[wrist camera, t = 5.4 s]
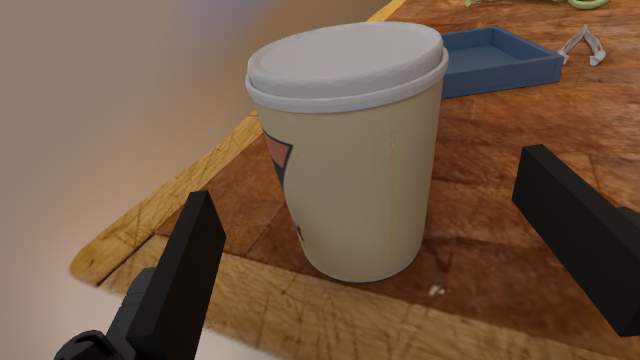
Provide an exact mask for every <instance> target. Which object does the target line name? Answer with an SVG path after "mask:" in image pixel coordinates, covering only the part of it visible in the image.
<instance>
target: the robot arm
mask: <svg viewBox="0 0 640 360" xmlns="http://www.w3.org/2000/svg"><path fill="white" fill-rule="evenodd" d="M512 201H513V202H514V204H515V205H516V206H517V208H518V209H519V210H520V211H521V213H522V214H523V215H524V216H525V218H526V219H527V220H528V221H529V223H530V224H531V225H532V226H533V228H534V229H535V230H536V232H537V233H538V234H539V235H540V237H541V238H542V239H543V240H544V242H545V243H546V244H547V245H548V247H549V248H550V249H551V250H552V252H553V253H554V254H555V256H556V257H557V258H558V259H559V261H560V262H561V263H562V264H563V266H564V267H565V268H566V269H567V271H568V272H569V273H570V274H571V276H572V277H573V278H574V280H575V281H576V282H577V283H578V285H579V286H580V287H581V288H582V290H583V291H584V292H585V293H586V295H587V296H588V297H589V299H590V300H591V301H592V302H593V304H594V305H595V306H596V307H597V309H598V310H599V311H600V312H601V314H602V315H603V316H604V317H605V319H606V320H607V321H608V323H609V324H610V325H611V326H612V328H613V329H614V330H615V331H616V333H617V334H618V335H619V336H620V338H621V337H630V336H639V335H640V214H639V213H637V212H635V211H633V210H631V209H629V208H627V207H618V208H615V207H614V206H613V205H612V204H611V203H610V202H608V201H607V200H606V199H605V198H604V197H603V196H601V195H600V194H599V193H598V192H597V191H596V190H595V189H593V188H592V187H591V186H590V185H589V184H588V183H586V182H585V181H584V180H583V179H582V178H581V177H580V176H578V175H577V174H576V173H575V172H574V171H573V170H571V169H570V168H569V167H568V166H567V165H566V164H564V163H563V162H562V161H561V160H560V159H559V158H558V157H556V156H555V155H554V154H553V153H552V152H551V151H549V150H548V149H547V148H546V147H545V146H544V145H543V144H540V145H532V146H525V147H523V148H522V153H521V158H520V163H519V167H518V172H517V177H516V181H515V186H514V191H513V195H512ZM225 241H226V234H225V232H224V229H223V227H222V224H221V222H220V219H219V217H218V214H217V212H216V209H215V207H214V204H213V202H212V199H211V197H210V194H209V192H208V190H203V191H196V192H190V194H189V196H188V198H187V200H186V203H185V205H184V207H183V209H182V212H181V214H180V216H179V218H178V220H177V223H176V225H175V227H174V229H173V232H172V234H171V236H170V238H169V240H168V243H167V245H166V247H165V249H164V251H163V254H162V256H161V258H160V260H159V263H158V265H157V267H151V268H144V269H143V270H142V271H141V273H140V274H139V275H138V276H137V277H136V278H135V279H134V280H133V282H132V284H131V286H130V288H129V290H128V292H127V296H125V298H124V300H123V302H122V304H121V305H122V306H121V307H120V308H119V310H118V312H117V314H116V316H115V318H114V320H113V322H112V324H111V326H110V328H109V330H108V332H107V334H106V336H105V335H104V334H103V333H102V332H101V331H97V330H91V331H86V332H83V333H81V334H79V335H77V336H75V337H73V338H72V339H71V340H69V341H68V342H67V343H66V344H65V345H63V347H62V348H61V349H60V350H59V351H58V352H57V354H56V356H55V358H54V360H194V358H195V355H196V351H197V347H198V344H199V339H200V336H201V332H202V328H203V325H204V321H205V317H206V313H207V309H208V306H209V302H210V298H211V294H212V290H213V286H214V283H215V279H216V275H217V271H218V267H219V264H220V260H221V256H222V252H223V248H224V244H225Z"/></svg>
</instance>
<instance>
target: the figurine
mask: <svg viewBox="0 0 640 360" xmlns="http://www.w3.org/2000/svg"><path fill="white" fill-rule="evenodd" d="M480 1H483V0H475V2H480ZM553 1H558V2H560V1H564V0H553ZM608 1H609V0H595V1H592V2H582V1H577V0H568V2H569V4H570V5H571V6H572V7H575V8H579V9H593V8H596V7H599V6H601V5H603V4H605V3H607V2H608ZM470 3H471V0H466V3H465V5H466V7H469V6H470Z"/></svg>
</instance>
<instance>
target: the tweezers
mask: <svg viewBox="0 0 640 360" xmlns="http://www.w3.org/2000/svg"><path fill="white" fill-rule="evenodd" d="M583 35H584V38H585V40H586V41H587V42H588V43H589V45H590V46H591V48H592V52H593V53H594V54H595V55H594V56H590V65H591V66H595V65H597V64H598V63H599V62H600V61H601V60H602V59H603V58H604V57H605V56H606V54H605V51H604V50H603V49H602V46H601V45H600V42H599V39H597V38H596V37H595V36H594V35H593V34H592V33H591V32H590V31H589V29H588V27H587V24H585V25H584V27H583V28H582V30H581V31H580V32H579V33H578V34H576V35H575V36H574V37H572V38H571V39H569V40H568V42H567V43H566V44H565V46H567V48H566V49H565V50H564V48H565V46H564V47H563V48H561V49H559V50H558V52H557V53H558V54H560V55H562V56H564V61H563V65H564V64H565V63H566V61H567V60H568V58H569V57H570V56H567V55H566V53H568V52H569V51H570V49H571V48H572V47H573V46H574V45H575V44H576V43H577V42H579V41H580V39H581V38H582V37H583ZM597 47H600V50H599V51H598V50H597Z"/></svg>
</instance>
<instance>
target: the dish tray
mask: <svg viewBox="0 0 640 360" xmlns="http://www.w3.org/2000/svg"><path fill="white" fill-rule="evenodd" d="M440 35H441V37H442V40H443V46H444V47H445V48H446V49H447V51H448V55H449V62H448V68H447V71H446V73H445V75H444V76H443V84H442V95H441V99H444V98H451V97H458V96H465V95H471V94H478V93H485V92H492V91H499V90H506V89H512V88H519V87H526V86H533V85H540V84H547V83H554V82H559V77H560V73H561V69H562V65H563V61H564V56H562V55H560V54H558V53H556V52H553V51H551V50H549V49H547V48H545V47H542V46H540V45H538V44H536V43H533V42H531V41H529V40H527V39H525V38H522V37H520V36H518V35H516V34H513V33H511V32H509V31H507V30H505V29H502V28H500V27H498V26H491V27H484V28H478V29H471V30H465V31H458V32H452V33H445V34H440Z"/></svg>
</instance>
